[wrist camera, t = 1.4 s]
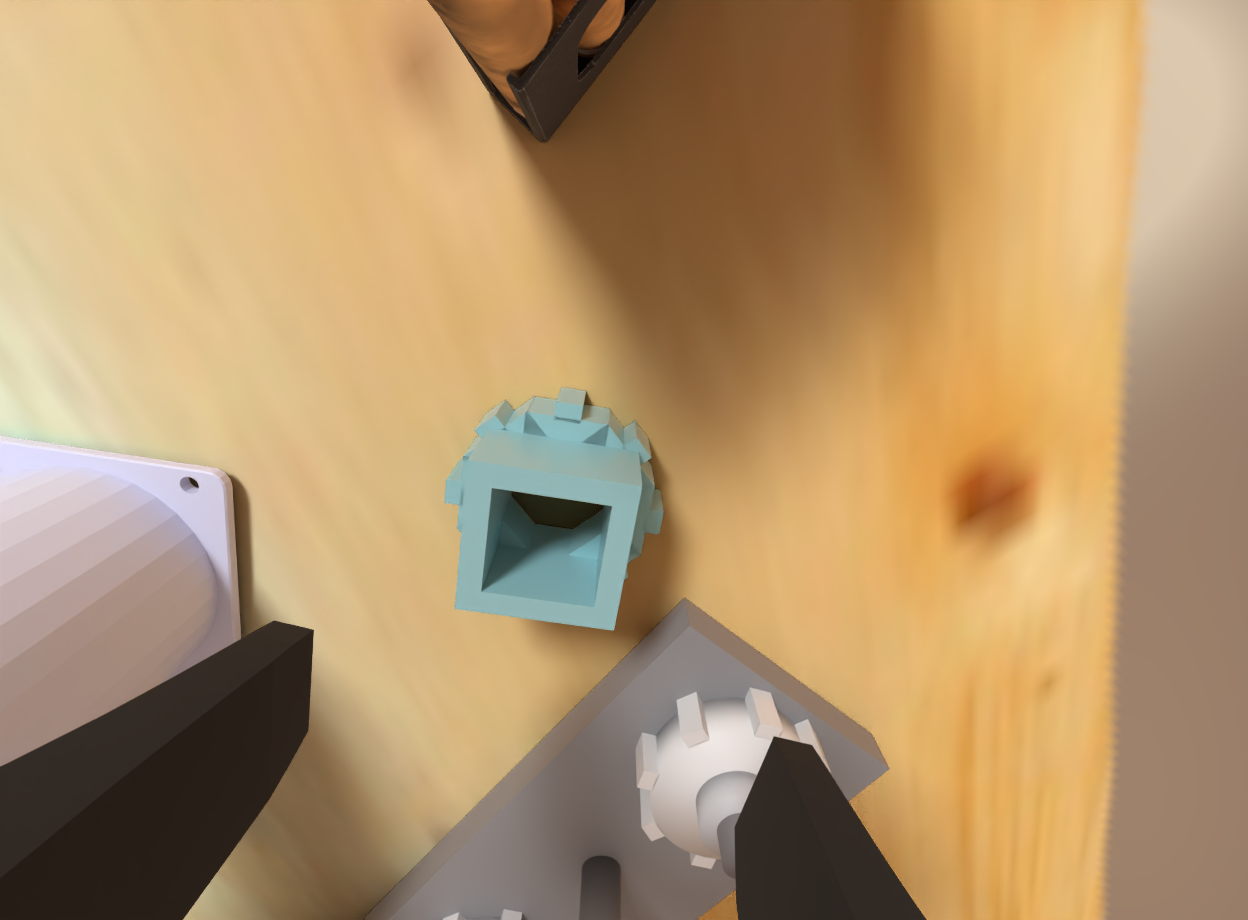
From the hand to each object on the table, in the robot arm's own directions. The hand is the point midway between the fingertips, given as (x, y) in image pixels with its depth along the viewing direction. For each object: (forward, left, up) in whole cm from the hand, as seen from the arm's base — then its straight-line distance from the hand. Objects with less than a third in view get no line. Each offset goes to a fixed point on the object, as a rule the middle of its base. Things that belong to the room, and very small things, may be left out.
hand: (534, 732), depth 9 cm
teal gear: (-1, 0, -10) cm, 10 cm away
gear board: (+3, -14, -10) cm, 17 cm away
